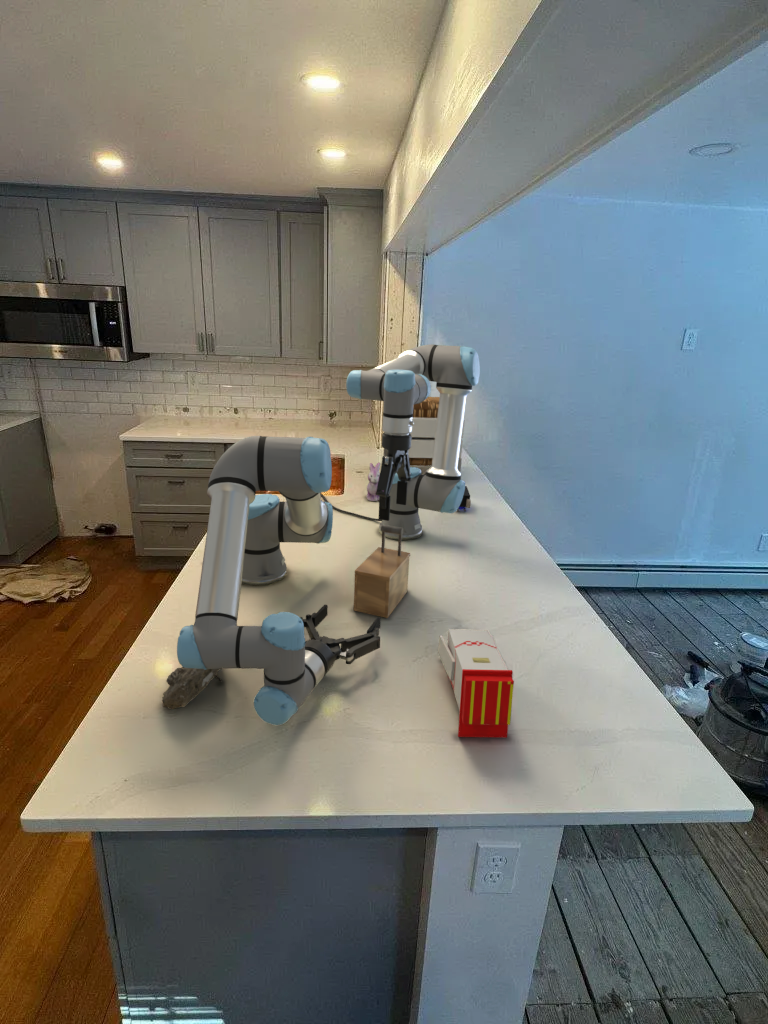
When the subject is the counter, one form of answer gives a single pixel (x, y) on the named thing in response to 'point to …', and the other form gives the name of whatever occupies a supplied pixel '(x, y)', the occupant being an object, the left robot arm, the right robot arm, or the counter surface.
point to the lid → (384, 558)
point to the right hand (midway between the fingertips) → (392, 511)
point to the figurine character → (465, 500)
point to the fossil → (186, 685)
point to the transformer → (425, 433)
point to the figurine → (373, 482)
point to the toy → (478, 682)
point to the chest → (380, 592)
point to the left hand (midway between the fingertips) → (352, 615)
